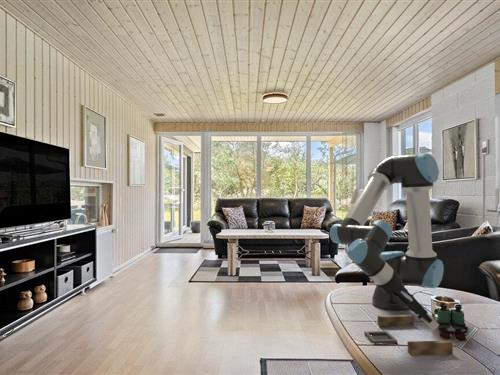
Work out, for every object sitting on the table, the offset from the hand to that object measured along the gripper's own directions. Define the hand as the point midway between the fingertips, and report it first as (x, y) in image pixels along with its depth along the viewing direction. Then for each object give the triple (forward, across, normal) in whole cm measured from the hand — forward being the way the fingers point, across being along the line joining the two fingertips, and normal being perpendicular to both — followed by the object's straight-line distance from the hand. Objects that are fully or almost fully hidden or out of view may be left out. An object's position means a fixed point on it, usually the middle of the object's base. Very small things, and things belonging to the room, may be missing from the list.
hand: (435, 327), depth 120 cm
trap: (-11, 0, -16) cm, 19 cm away
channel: (-3, 0, -8) cm, 9 cm away
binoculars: (+7, 0, +2) cm, 7 cm away
